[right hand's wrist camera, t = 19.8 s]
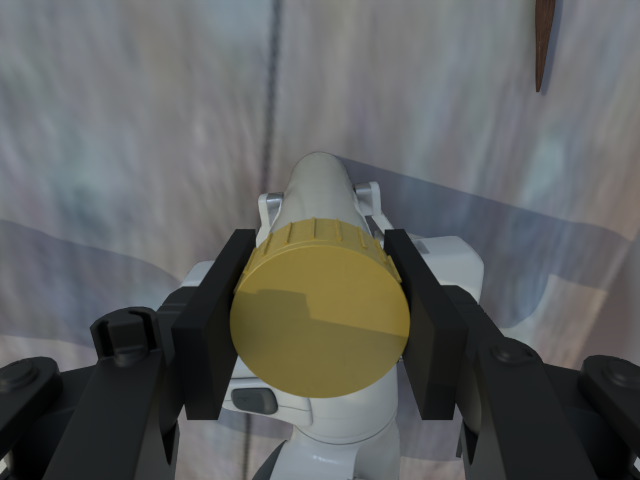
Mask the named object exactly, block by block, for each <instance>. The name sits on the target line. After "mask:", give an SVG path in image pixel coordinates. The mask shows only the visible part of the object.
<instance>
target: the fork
mask: <svg viewBox="0 0 640 480" xmlns="http://www.w3.org/2000/svg"><path fill="white" fill-rule="evenodd" d="M554 8H555V0H536V10H535V23H536V92H539V91H540V87H541V82H542V77H543V72H544V66H545V60H546V54H547V48H548V42H549V36H550V31H551V26H552V20H553V15H554Z"/></svg>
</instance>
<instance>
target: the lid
mask: <svg viewBox="0 0 640 480" xmlns="http://www.w3.org/2000/svg"><path fill="white" fill-rule="evenodd" d="M401 282H402V280H401V278H400V276H399V274H398V271H397V269H396V267H395V265H394V263H393V261H392V258H391V256H390V255H389V256H387V254H386V252H385V251H384V250H383V248H382V247H381V245H380V242H379V240H378V239H377V238H376V239H374V238H373V237H371V236H370V235H369V234H368V233H366V232H365V231H363V230H362V229H361V227H360V226H357V227H356V226H354V225H351V224H349V223H346V222H343V221H339V219H337V218H335V220H334V219H326V218H315V217H312V219H305V220H301V221H297V222H294V223H292V222H289V223H288V225H286V226H284V227H282V228H280V229H278V230H277V231H275V232H274V233H271V232H270V233H269V234H268V237H267V238H266V239H265V240H264V241H263V242H262V243H261V244H260V246H259V247H258V248H256V247H255V248H254V250H253V252H252V254H251V256H250V258H249V261H248V263H247V265H246V266H245V268H244V270H243V272H242V274H241V276H240V279H239V281H238V283H237V285H236V287H235V289H234V292H233V294H235V296H234V299H233V301H232V305H231V310H230V319H229V320H230V332H231V338H232V341H233V344H234V347H235V349H236V351H237V353H238V355H239V357H240V358H241V360H242V361H243V363H244V364H245V365H246V366H247V368H248V369H249V370H250V371H251V372H252V373H253V374H254V375H255V376H257V377H258V378H259V379H261V380H262V381H263V382H265V383H266V384H268V385H270V386H271V387H273V388H276V389H278V390H280V391H282V392H285V393H288V394H291V395H295V396H300V397H307V398H334V397H340V396H345V395H348V394H352V393H355V392H357V391H360V390H362V389H364V388H367V387H368V386H370V385H372V384H374V383H375V382H377V381H378V380H379V379H381V378H382V377H383V376H384V375H386V374H387V373H388V372H389V371H390V370H391V369H392V367H393V366H394V365H395V364H396V363H397V361H398V360H399V358H400V357H401V355H402V353H403V351H404V349H405V347H406V344H407V341H408V337H409V329H410V310H409V305H408V302H407V298H406V296H405V294H404V291H403V289H402V287H401V285H400V283H401Z"/></svg>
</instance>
